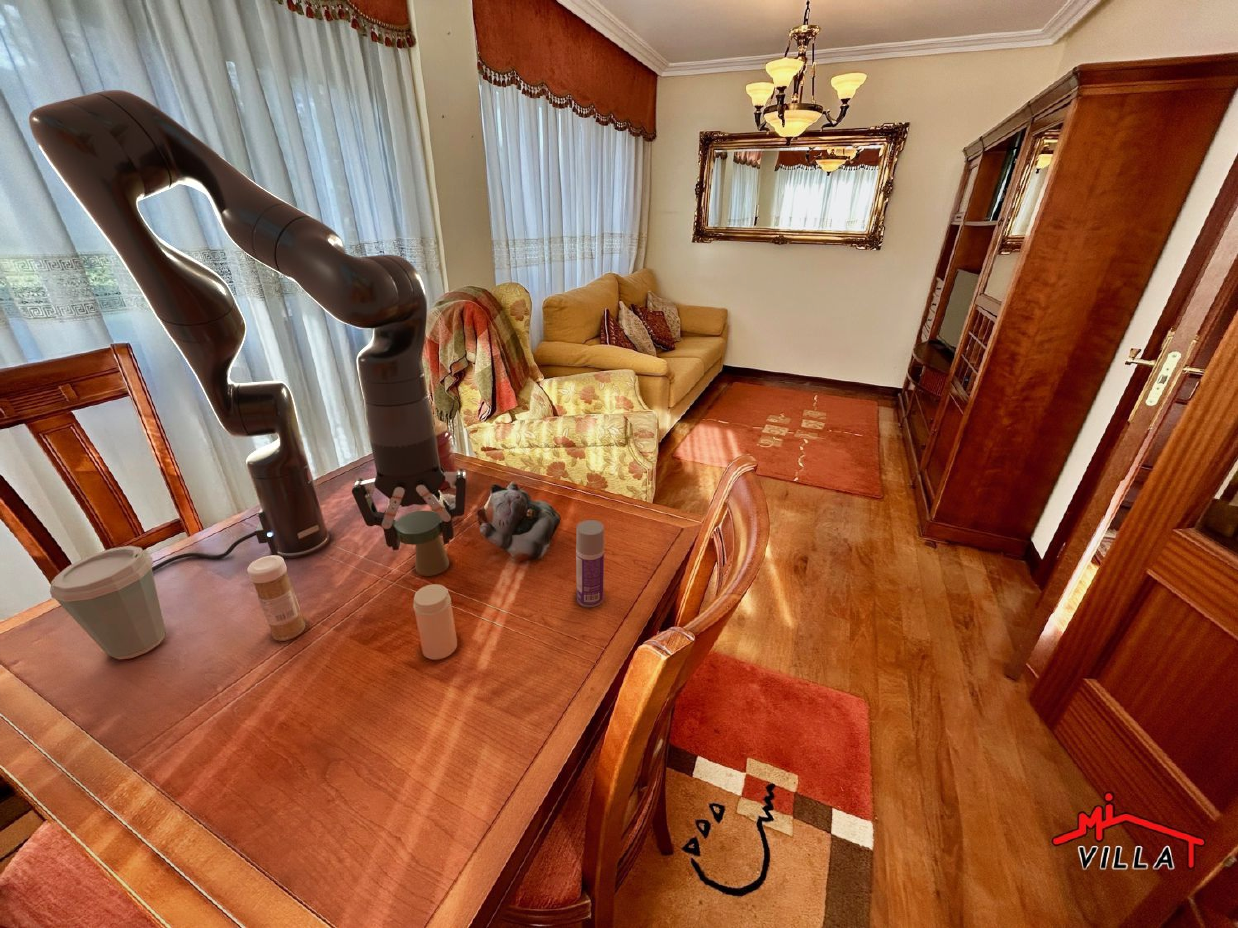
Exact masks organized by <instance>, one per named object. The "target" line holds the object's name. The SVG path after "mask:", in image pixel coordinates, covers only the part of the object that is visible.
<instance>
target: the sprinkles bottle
mask: <svg viewBox="0 0 1238 928" xmlns="http://www.w3.org/2000/svg"><path fill="white" fill-rule="evenodd" d="M287 569H288V568H287V565H286V562H285V560H284V557H280V556H276V555H272V554H271V555H265V556H262V557H260V558H257V559H255V560H254V561H252V562H251V563H249V565H248V566H247V575H248V577H249V580H250V581H251V583H252V584H253V586H254V589H255V591H256V594H257V597H258V601H259V603H260V605H261V608H262V611H263V614H264V616H265V619H266V621H267V623H268V625H269V628H270V631H271V635H272V638H273V639H274V640H275V641H280V642H286V641H289V640H291V639H295V638H296V637H298V636H299V635H301V634H302V633H303V631H304V630H305V628H306V622H305V620H304V619H303V616H302V612H301V608H300V605H299V602H298V599H297V596H296V594H295V592H294V589H293V586H292V583H291V581H290V578H289V576H288V575H289V574H288V571H287Z"/></svg>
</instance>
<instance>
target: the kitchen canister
mask: <svg viewBox="0 0 1238 928" xmlns="http://www.w3.org/2000/svg"><path fill="white" fill-rule="evenodd" d="M433 418H434V421H435V434H436V441H437V448H438V455H439V462H440V465H441V467H442V468H443V469H444V471H445V472H457V471H458V469H457V467H456V462H455V453H454V450H455V447H454V445H453V443H452V442H451V440H452V438H453V434H452V432H451V431H450V430H448V425H447V423H446V422H444V421H442V420H439V419H438V418H436V417H433ZM448 487H450V484H449V482H447V481H444V483H443V485H442V486H441V488H440V489H439V490H440V491H441V490H444V489H446V488H448Z"/></svg>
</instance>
